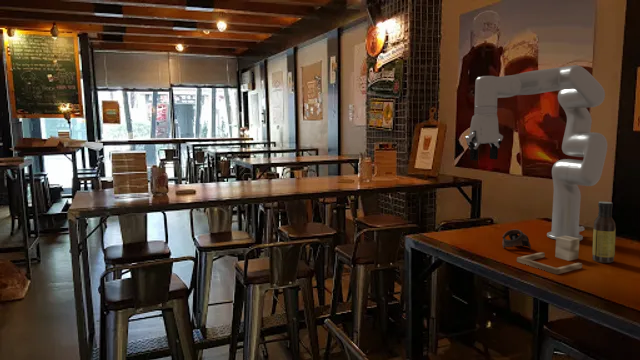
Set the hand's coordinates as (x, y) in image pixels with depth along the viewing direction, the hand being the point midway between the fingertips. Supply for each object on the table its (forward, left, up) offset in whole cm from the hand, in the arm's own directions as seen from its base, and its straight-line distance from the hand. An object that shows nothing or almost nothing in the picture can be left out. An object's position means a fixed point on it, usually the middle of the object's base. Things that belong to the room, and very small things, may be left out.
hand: (483, 159), depth 159 cm
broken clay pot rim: (-13, +5, -34) cm, 36 cm away
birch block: (-17, +22, -33) cm, 43 cm away
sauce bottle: (-24, +30, -33) cm, 51 cm away
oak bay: (-5, +24, -33) cm, 41 cm away
